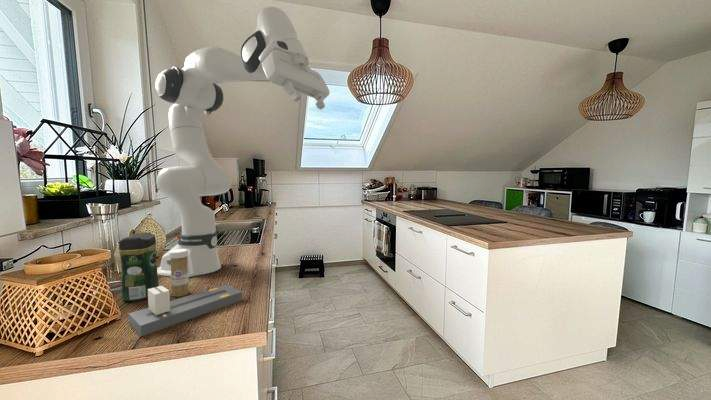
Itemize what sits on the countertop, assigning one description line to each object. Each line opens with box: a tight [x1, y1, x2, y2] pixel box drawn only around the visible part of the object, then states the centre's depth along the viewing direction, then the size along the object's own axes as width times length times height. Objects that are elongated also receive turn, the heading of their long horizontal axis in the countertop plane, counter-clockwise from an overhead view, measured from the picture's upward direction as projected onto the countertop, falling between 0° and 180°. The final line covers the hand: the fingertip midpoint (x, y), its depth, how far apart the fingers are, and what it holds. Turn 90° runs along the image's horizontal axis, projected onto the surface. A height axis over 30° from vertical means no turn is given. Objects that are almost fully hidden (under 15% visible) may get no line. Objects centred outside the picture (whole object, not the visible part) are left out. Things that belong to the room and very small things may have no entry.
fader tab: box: [147, 285, 171, 315], centre depth 69 cm, size 3×5×5 cm, turn 52°
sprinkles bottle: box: [170, 249, 190, 298], centre depth 85 cm, size 5×5×13 cm
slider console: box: [128, 284, 243, 337], centre depth 75 cm, size 24×9×3 cm, turn 142°
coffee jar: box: [118, 232, 160, 302], centre depth 84 cm, size 10×8×19 cm
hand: (309, 104), depth 73 cm, fingers open, 8 cm apart
